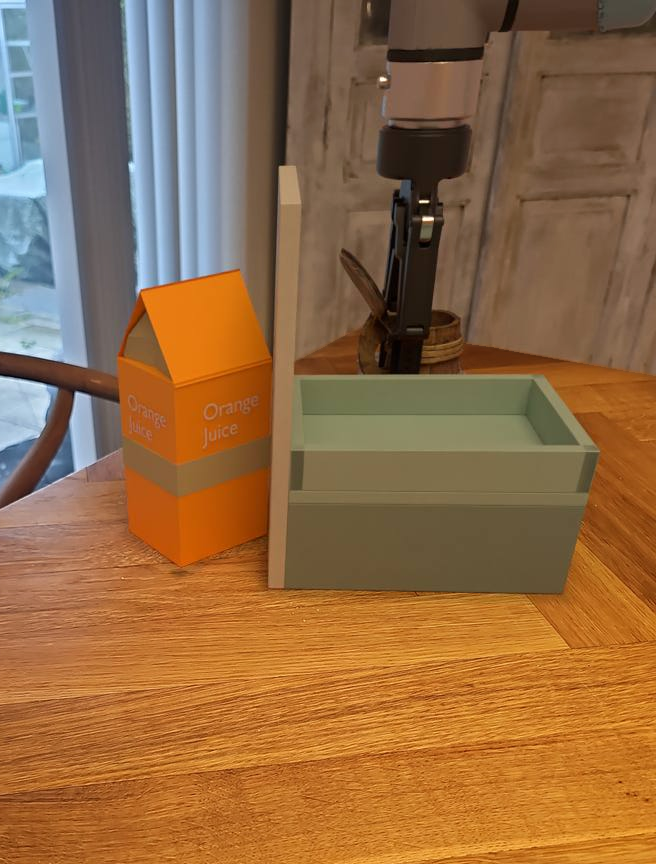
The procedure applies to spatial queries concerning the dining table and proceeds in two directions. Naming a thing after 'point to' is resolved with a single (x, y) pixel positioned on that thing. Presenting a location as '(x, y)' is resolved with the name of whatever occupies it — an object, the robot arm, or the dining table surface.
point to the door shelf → (416, 469)
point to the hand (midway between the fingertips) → (394, 393)
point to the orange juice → (195, 417)
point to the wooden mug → (436, 350)
